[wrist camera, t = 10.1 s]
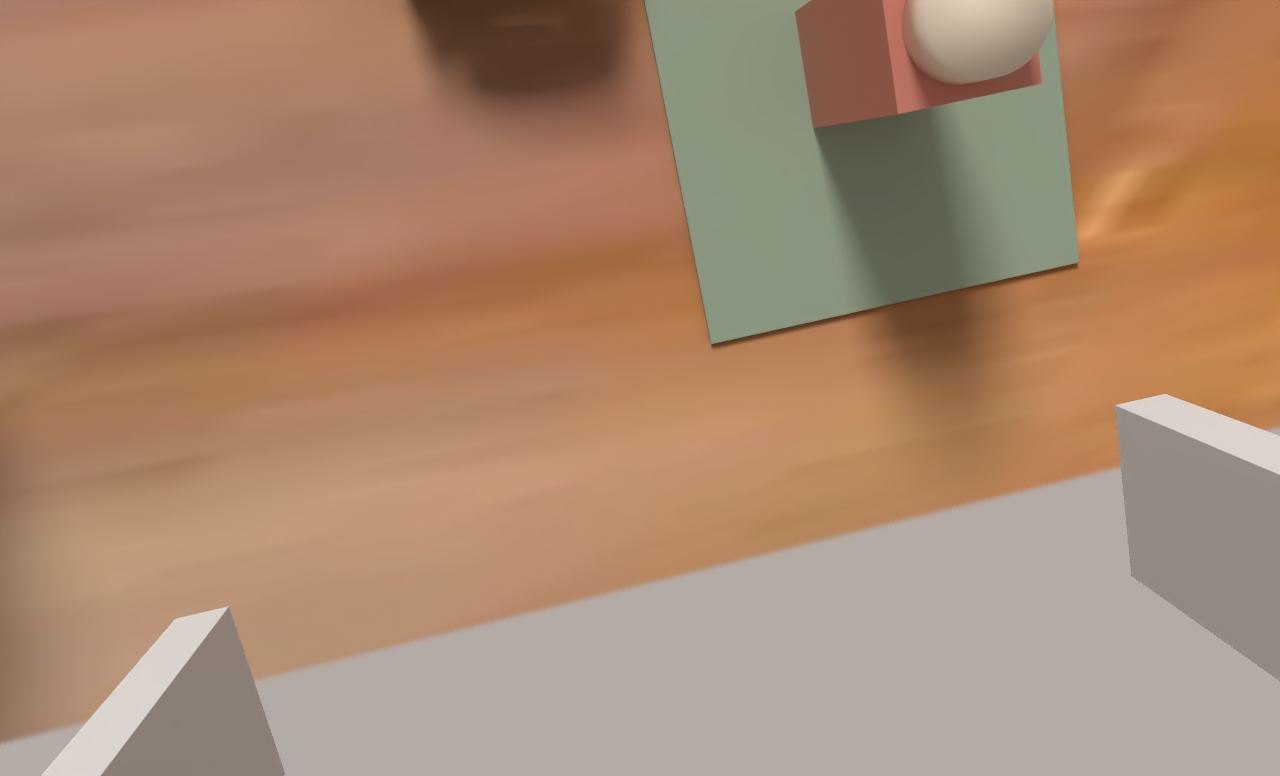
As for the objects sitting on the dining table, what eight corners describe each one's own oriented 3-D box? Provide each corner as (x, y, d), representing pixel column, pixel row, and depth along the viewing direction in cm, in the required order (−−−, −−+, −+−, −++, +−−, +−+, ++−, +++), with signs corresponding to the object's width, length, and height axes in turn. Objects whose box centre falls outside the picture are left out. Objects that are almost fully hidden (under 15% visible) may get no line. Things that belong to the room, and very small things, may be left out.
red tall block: (813, 128, 39) (922, 110, 27) (794, 11, 38) (899, -60, 26) (921, 105, 39) (1076, 77, 27) (906, -12, 38) (1060, -93, 26)
